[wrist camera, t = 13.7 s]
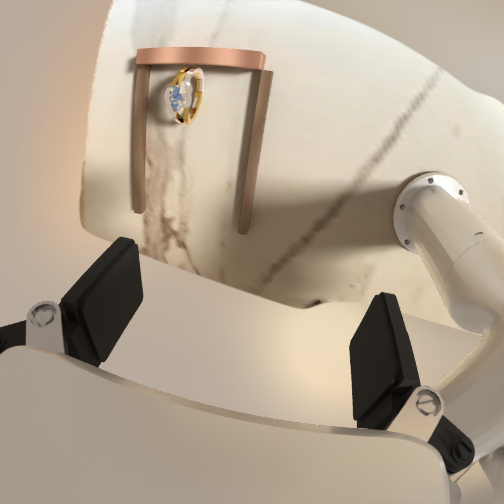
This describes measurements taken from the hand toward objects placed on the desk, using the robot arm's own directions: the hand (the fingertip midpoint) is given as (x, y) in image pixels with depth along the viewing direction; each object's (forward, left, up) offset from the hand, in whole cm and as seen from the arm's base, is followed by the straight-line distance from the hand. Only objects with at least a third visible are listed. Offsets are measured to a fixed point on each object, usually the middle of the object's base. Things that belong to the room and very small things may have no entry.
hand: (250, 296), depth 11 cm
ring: (+12, -5, -28) cm, 31 cm away
